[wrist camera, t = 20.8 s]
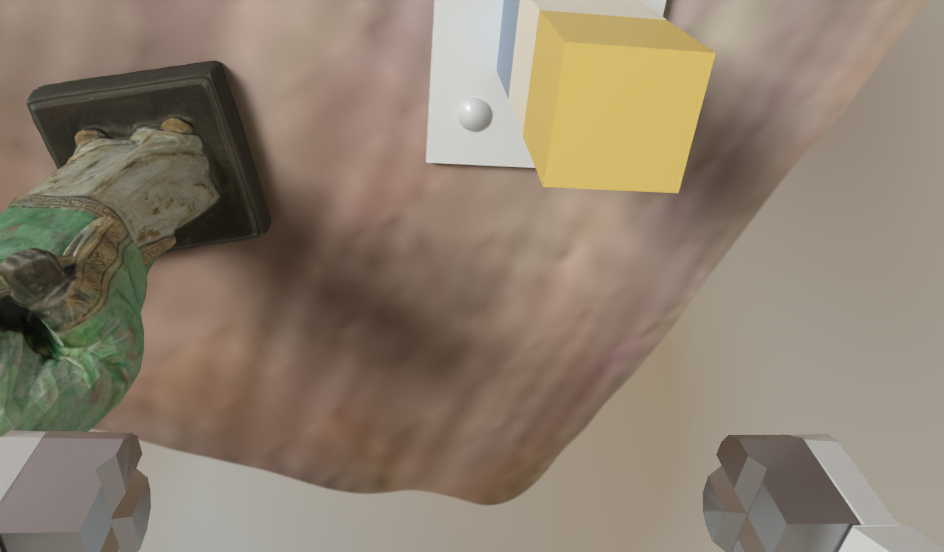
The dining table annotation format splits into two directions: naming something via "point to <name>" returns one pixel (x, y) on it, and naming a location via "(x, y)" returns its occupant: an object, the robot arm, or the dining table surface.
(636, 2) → the block
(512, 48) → the block
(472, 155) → the build plate
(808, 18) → the dining table surface
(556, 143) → the block
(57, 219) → the figurine
